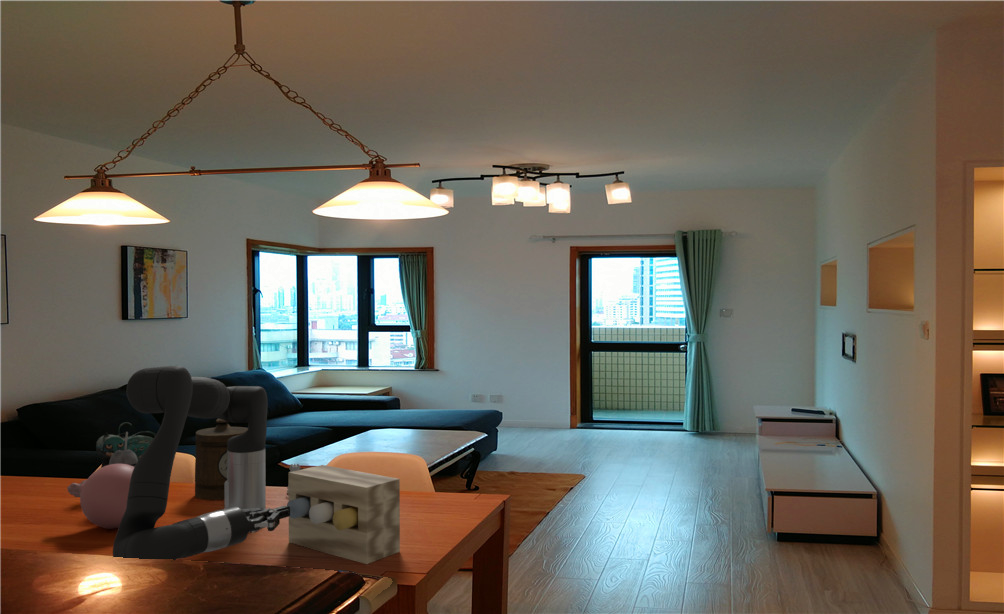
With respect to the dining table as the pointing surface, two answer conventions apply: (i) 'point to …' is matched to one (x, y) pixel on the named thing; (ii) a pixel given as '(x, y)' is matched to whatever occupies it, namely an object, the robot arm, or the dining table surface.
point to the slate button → (299, 507)
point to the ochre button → (346, 518)
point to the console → (346, 490)
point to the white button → (322, 512)
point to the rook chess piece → (293, 468)
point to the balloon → (104, 495)
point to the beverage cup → (124, 456)
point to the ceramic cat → (122, 444)
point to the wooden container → (213, 459)
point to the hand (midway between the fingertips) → (287, 510)
